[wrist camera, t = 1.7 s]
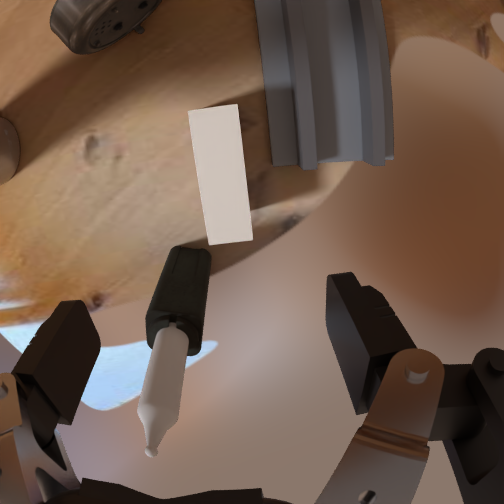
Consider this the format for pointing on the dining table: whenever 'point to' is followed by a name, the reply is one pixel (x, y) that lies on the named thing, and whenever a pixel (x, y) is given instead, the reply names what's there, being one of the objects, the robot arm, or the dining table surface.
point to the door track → (326, 81)
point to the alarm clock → (98, 21)
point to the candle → (172, 338)
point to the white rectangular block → (221, 173)
